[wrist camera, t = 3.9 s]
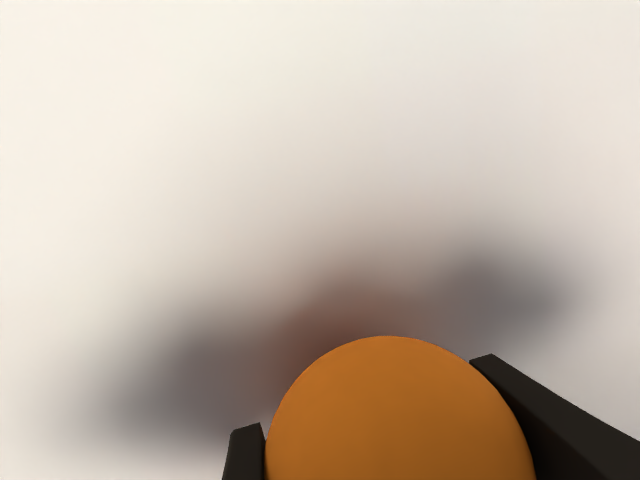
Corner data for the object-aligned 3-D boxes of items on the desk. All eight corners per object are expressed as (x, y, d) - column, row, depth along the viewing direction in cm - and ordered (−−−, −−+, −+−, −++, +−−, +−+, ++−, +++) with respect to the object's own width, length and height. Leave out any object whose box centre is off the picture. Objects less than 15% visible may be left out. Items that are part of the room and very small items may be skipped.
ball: (446, 266, 11) (643, 454, 6) (451, 420, 13) (593, 644, 8) (227, 324, 10) (239, 594, 5) (275, 475, 13) (316, 757, 8)
